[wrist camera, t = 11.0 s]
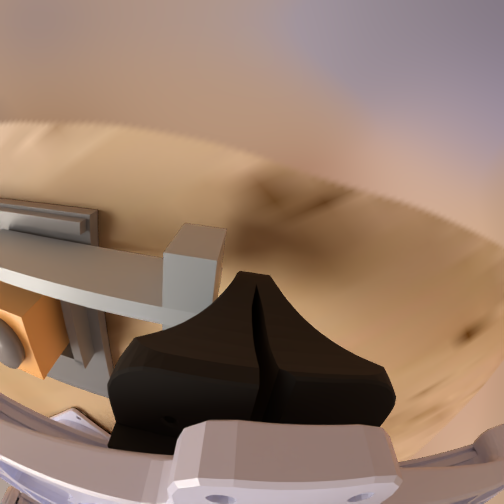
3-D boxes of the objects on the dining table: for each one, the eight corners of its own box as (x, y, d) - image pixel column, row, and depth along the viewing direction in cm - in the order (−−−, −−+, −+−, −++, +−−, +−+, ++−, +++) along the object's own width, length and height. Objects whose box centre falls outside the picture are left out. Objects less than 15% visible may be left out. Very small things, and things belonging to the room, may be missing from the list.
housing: (97, 209, 13) (72, 225, 11) (118, 391, 18) (108, 415, 16) (-49, 193, 12) (-70, 203, 10) (-13, 339, 17) (-27, 354, 15)
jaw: (64, 275, 13) (13, 324, 9) (75, 334, 15) (38, 387, 11) (14, 262, 13) (-36, 302, 9) (27, 318, 15) (-12, 362, 10)
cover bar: (228, 223, 12) (217, 260, 9) (219, 288, 13) (208, 340, 10) (-1, 194, 11) (-46, 214, 8) (5, 246, 12) (-35, 273, 9)
